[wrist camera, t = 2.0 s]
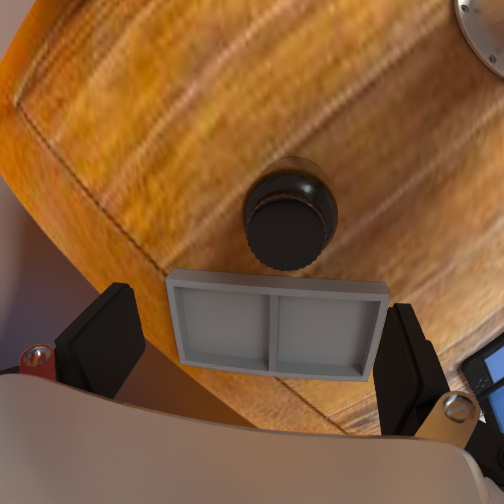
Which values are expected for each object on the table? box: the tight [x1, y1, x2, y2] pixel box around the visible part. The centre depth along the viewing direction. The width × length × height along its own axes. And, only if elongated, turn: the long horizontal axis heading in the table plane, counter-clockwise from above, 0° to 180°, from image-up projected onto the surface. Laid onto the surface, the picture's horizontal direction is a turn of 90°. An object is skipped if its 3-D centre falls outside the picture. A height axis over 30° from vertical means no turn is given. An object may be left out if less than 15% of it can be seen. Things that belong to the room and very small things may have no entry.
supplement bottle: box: [241, 156, 338, 271], centre depth 24 cm, size 7×7×12 cm
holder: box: [165, 268, 390, 382], centre depth 35 cm, size 23×12×2 cm, turn 91°
